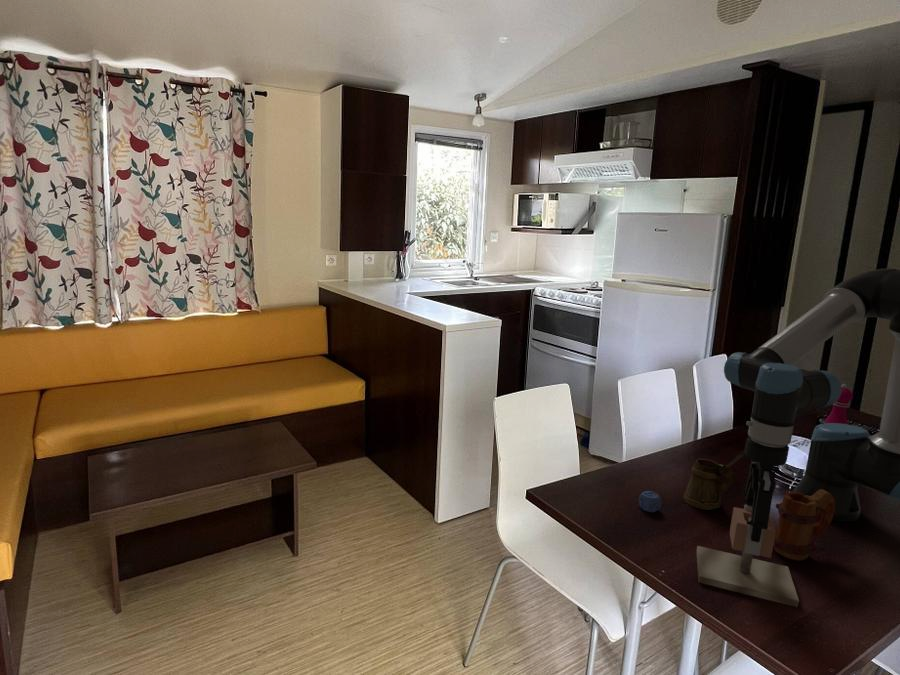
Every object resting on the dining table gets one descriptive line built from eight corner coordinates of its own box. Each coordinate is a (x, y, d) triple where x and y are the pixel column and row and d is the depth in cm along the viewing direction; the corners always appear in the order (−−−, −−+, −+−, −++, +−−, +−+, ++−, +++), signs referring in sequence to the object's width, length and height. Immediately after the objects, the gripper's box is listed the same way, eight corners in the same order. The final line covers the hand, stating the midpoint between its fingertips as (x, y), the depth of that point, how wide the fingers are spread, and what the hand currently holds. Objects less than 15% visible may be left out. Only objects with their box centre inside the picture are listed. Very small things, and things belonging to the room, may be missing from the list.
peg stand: (786, 572, 122) (797, 516, 119) (797, 607, 111) (810, 545, 108) (696, 551, 128) (705, 497, 125) (698, 582, 117) (707, 523, 114)
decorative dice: (637, 505, 148) (639, 491, 147) (650, 504, 149) (652, 490, 148) (646, 513, 144) (648, 499, 143) (660, 511, 145) (662, 497, 144)
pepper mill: (825, 431, 208) (836, 379, 204) (848, 438, 202) (860, 385, 198) (818, 435, 203) (829, 383, 199) (842, 442, 198) (853, 388, 194)
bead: (765, 540, 119) (770, 514, 118) (770, 558, 113) (776, 531, 112) (729, 532, 122) (733, 506, 121) (732, 549, 115) (737, 522, 114)
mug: (788, 567, 123) (800, 505, 120) (758, 546, 131) (769, 487, 128) (839, 559, 128) (852, 498, 124) (807, 539, 135) (819, 481, 132)
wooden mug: (727, 521, 141) (739, 455, 138) (677, 500, 151) (686, 437, 147) (743, 511, 147) (754, 446, 143) (693, 490, 157) (702, 430, 153)
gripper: (741, 421, 123) (725, 516, 128) (753, 455, 105) (733, 565, 110) (780, 427, 120) (762, 524, 125) (799, 463, 102) (777, 575, 107)
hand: (749, 543), depth 117 cm, fingers closed on bead, 7 cm apart
